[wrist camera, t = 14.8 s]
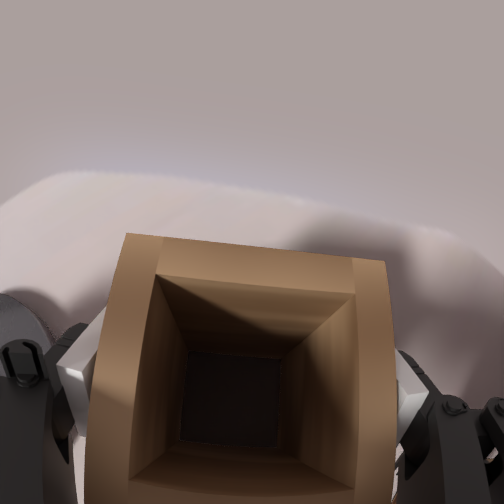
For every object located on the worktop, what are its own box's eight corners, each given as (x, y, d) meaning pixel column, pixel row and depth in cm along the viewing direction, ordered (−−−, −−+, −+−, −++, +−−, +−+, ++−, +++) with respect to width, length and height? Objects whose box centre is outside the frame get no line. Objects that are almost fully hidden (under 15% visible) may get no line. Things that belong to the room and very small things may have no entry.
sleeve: (295, 465, 13) (389, 516, 5) (158, 454, 13) (84, 505, 4) (300, 341, 17) (384, 261, 8) (171, 329, 16) (126, 233, 8)
